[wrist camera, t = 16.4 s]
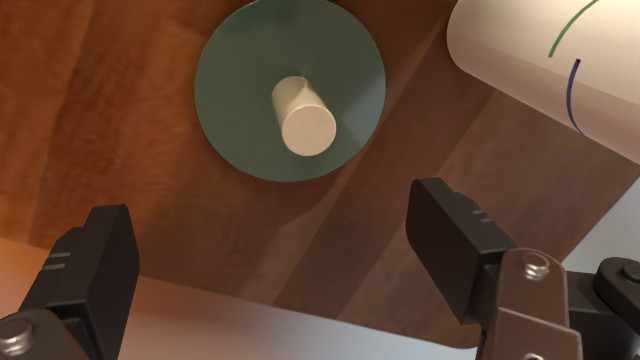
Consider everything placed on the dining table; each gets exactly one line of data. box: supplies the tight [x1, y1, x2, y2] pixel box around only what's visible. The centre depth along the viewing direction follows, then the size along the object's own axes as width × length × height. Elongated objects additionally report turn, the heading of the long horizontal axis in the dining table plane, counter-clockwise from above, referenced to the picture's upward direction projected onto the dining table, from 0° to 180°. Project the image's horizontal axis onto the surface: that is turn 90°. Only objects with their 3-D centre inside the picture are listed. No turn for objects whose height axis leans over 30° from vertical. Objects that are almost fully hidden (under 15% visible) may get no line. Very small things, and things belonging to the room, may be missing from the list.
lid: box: [194, 0, 386, 182], centre depth 27 cm, size 13×13×7 cm
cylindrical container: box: [447, 0, 640, 165], centre depth 20 cm, size 7×7×25 cm
